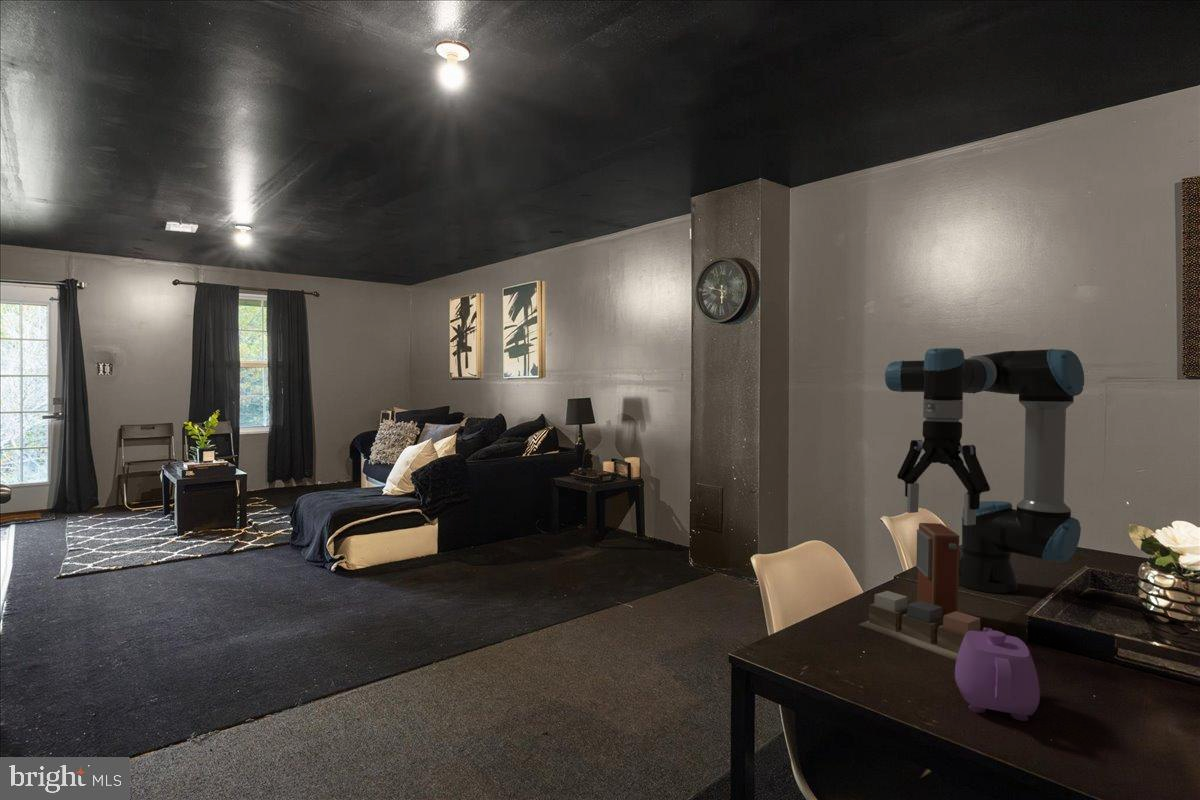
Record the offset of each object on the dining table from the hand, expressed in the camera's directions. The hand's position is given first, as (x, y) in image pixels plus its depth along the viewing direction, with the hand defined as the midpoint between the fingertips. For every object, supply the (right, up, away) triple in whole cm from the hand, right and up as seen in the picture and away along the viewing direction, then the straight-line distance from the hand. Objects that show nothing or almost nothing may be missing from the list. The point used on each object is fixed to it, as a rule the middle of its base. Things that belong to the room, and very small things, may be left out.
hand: (939, 518), depth 139 cm
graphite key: (-2, -24, +3) cm, 24 cm away
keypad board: (-2, -27, +3) cm, 27 cm away
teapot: (-4, -28, -26) cm, 39 cm away
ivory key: (-6, -24, +9) cm, 26 cm away
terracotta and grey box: (+7, -27, +15) cm, 31 cm away
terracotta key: (+2, -24, -4) cm, 24 cm away
